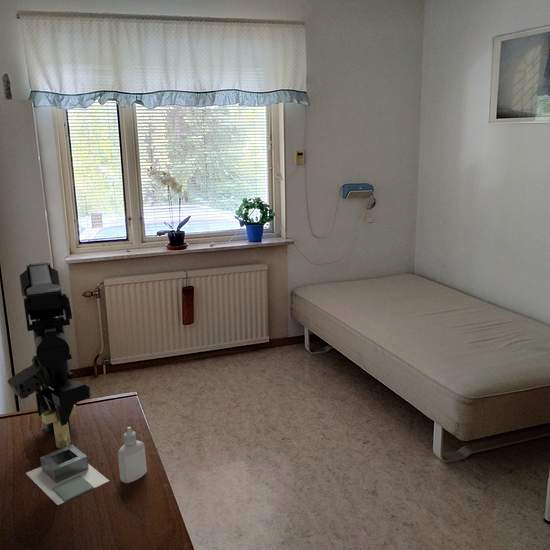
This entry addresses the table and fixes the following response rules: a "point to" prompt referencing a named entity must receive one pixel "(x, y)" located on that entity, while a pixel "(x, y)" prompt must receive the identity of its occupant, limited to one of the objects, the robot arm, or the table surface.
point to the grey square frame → (64, 463)
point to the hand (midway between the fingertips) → (60, 422)
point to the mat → (72, 488)
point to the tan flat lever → (58, 426)
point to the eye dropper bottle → (131, 458)
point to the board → (47, 483)
